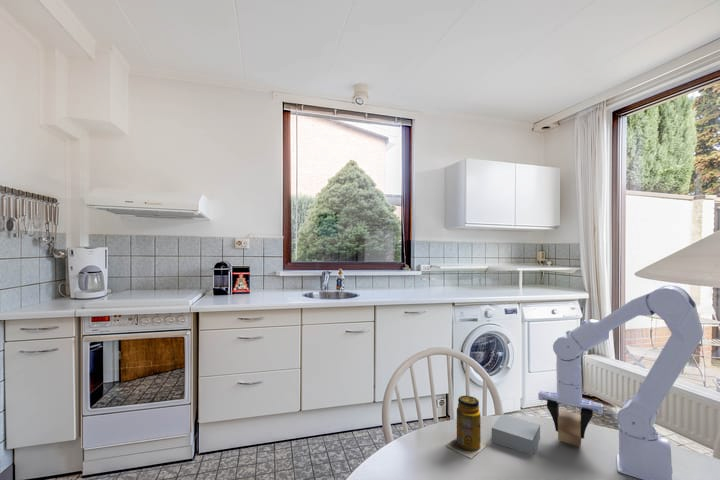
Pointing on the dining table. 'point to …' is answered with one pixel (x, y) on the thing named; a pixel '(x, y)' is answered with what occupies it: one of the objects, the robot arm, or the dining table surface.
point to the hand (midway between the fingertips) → (569, 433)
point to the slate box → (516, 433)
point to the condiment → (468, 427)
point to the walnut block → (569, 428)
